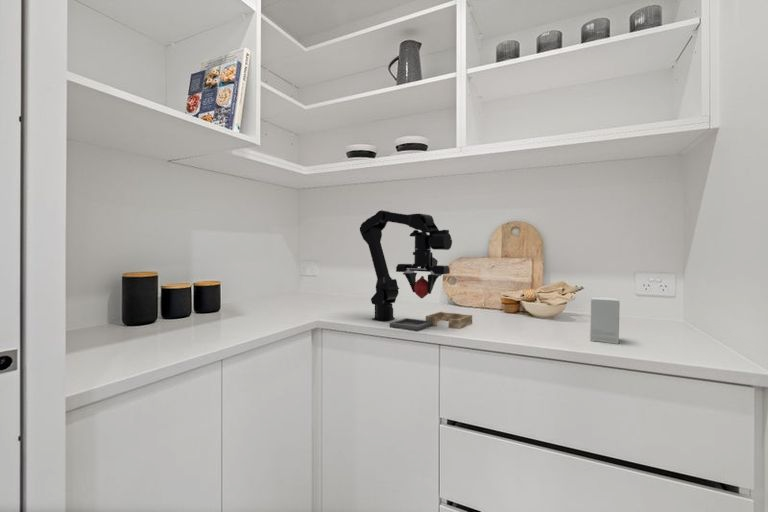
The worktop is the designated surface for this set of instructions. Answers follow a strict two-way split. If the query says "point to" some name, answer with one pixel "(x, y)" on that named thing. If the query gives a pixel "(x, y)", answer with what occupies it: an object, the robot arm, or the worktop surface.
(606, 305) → the supplement box
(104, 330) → the worktop surface
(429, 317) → the oak frame
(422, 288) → the onion
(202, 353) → the worktop surface
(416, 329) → the grey square tray
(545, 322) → the worktop surface
